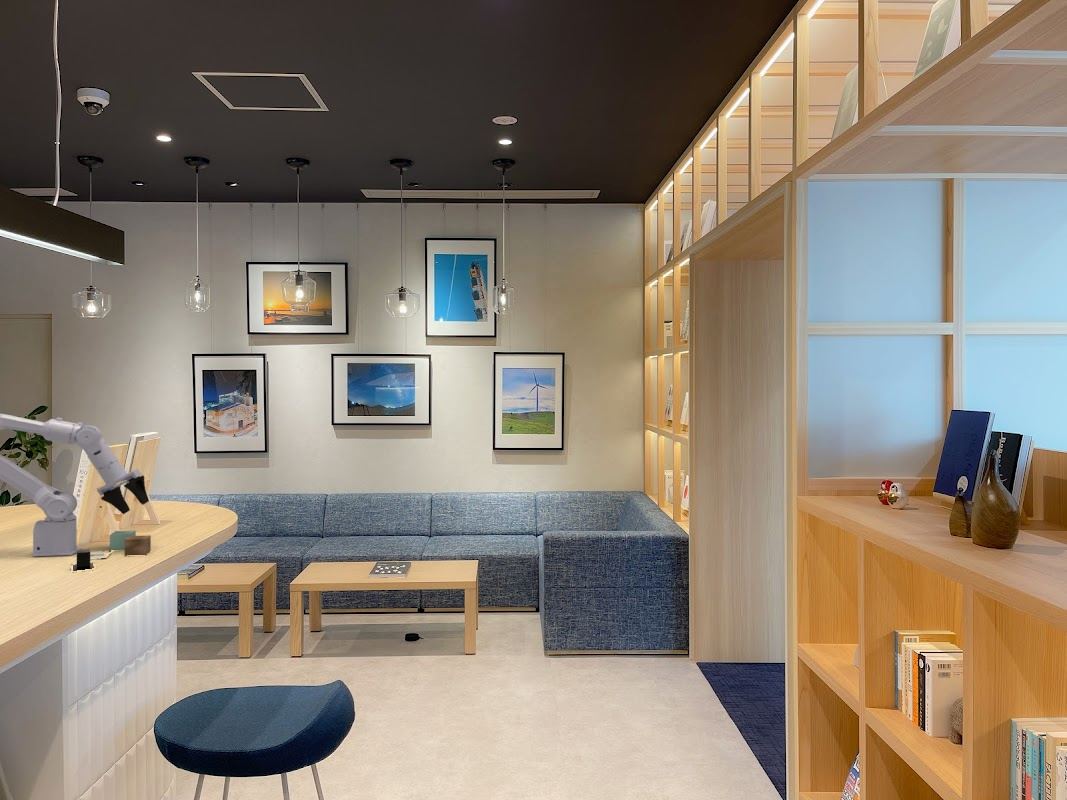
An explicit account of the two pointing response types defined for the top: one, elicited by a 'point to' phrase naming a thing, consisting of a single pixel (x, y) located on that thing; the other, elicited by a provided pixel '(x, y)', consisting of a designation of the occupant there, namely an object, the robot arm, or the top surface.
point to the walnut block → (137, 545)
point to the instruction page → (97, 555)
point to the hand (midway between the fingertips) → (136, 507)
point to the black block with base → (83, 560)
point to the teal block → (120, 539)
